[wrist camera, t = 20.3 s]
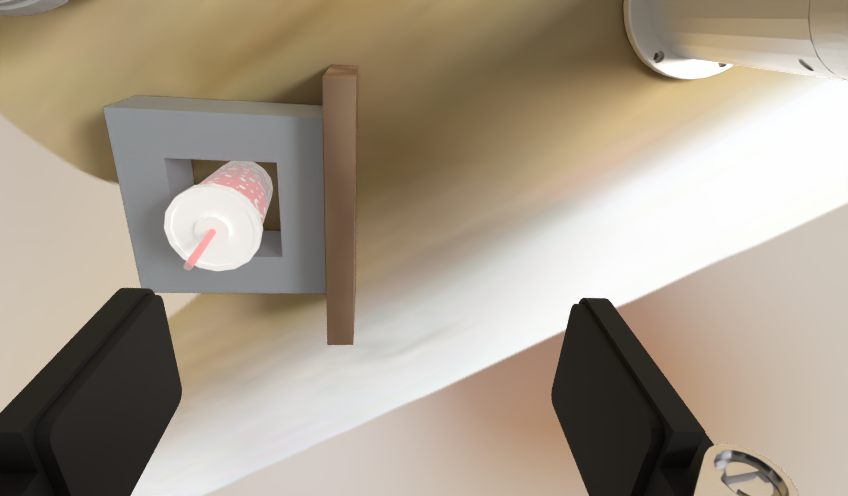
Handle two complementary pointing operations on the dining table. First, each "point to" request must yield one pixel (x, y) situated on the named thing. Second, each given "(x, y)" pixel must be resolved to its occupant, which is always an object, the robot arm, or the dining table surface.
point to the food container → (28, 6)
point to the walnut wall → (340, 199)
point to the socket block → (230, 141)
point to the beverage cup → (220, 217)
